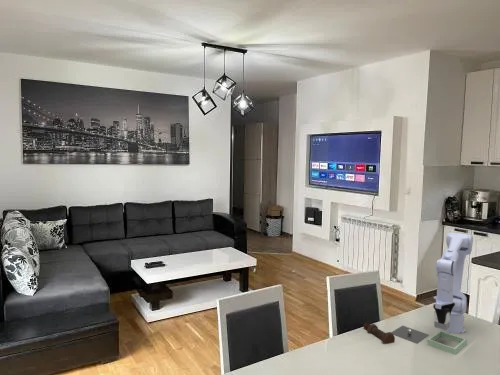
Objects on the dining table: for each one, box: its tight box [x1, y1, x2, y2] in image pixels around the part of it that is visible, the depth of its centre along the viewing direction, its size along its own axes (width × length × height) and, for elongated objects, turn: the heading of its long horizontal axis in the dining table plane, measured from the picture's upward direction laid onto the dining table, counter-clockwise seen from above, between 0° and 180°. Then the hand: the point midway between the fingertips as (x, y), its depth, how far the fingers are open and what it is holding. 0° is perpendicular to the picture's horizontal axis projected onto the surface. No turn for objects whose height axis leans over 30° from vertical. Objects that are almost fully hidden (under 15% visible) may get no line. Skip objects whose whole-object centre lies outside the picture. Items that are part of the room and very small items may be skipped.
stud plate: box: [390, 325, 430, 345], centre depth 157 cm, size 12×12×3 cm
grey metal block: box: [433, 310, 450, 331], centre depth 149 cm, size 4×4×6 cm
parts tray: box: [426, 330, 468, 355], centre depth 148 cm, size 12×10×3 cm
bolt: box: [363, 322, 396, 345], centre depth 156 cm, size 6×5×15 cm
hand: (443, 321), depth 149 cm, fingers closed on grey metal block, 4 cm apart
